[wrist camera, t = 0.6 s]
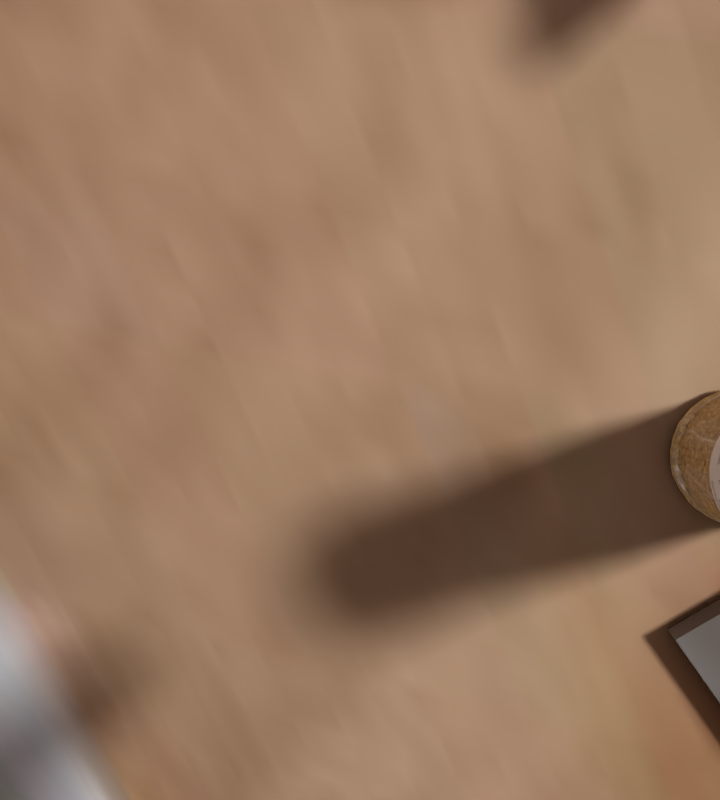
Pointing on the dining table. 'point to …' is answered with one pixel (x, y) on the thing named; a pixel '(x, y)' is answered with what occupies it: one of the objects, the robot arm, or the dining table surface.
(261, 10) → the dining table surface
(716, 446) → the sprinkles bottle
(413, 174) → the dining table surface
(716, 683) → the socket holder
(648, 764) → the dining table surface
